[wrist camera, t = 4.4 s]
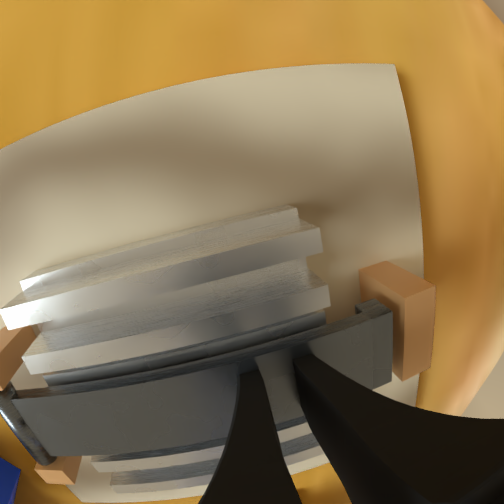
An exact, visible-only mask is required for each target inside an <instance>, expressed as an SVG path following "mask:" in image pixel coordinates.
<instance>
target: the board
mask: <svg viewBox="0 0 504 504" xmlns="http://www.w3.org/2000/svg"><path fill="white" fill-rule="evenodd" d="M286 204H287V205H290V206H293V207H296V208H297V211H298V216H299V219H301V220H304V221H306V222H308V223H310V224H313V225H315V226H317V227H319V228H320V233H321V240H322V246H323V252H321V253H318V254H314V255H310V256H307V257H306V262H307V267H308V268H309V269H310V270H311V271H312V272H314V273H315V274H316V275H317V276H318V277H319V278H321V279H322V280H323V281H324V282H325V283H327V284H328V289H329V296H330V304H331V306H329V307H326V308H323V310H324V311H325V316H326V324H329V323H332V322H335V321H338V320H341V319H344V318H347V317H350V316H353V315H355V305H356V304H359V303H361V293H360V282H359V271H358V269H361V268H364V267H367V266H371V265H374V264H377V263H380V262H383V261H388V262H390V263H392V264H394V265H396V266H399V267H401V268H402V269H404V270H406V271H408V272H410V273H412V274H414V275H416V276H418V277H420V278H422V279H424V259H423V237H422V221H421V209H420V199H419V190H418V181H417V173H416V166H415V159H414V153H413V146H412V140H411V135H410V129H409V124H408V119H407V114H406V109H405V105H404V100H403V96H402V92H401V88H400V83H399V80H398V76H397V72H396V68H395V64H323V65H306V66H293V67H283V68H273V69H265V70H257V71H250V72H243V73H236V74H230V75H224V76H218V77H213V78H208V79H203V80H198V81H193V82H188V83H184V84H179V85H175V86H171V87H167V88H163V89H159V90H155V91H151V92H148V93H144V94H140V95H137V96H133V97H130V98H127V99H123V100H120V101H117V102H114V103H111V104H108V105H105V106H102V107H99V108H96V109H93V110H90V111H87V112H85V113H82V114H79V115H77V116H74V117H71V118H69V119H66V120H64V121H61V122H59V123H56V124H54V125H52V126H49V127H47V128H45V129H42V130H40V131H38V132H35V133H33V134H31V135H29V136H27V137H25V138H22V139H20V140H18V141H16V142H14V143H12V144H10V145H8V146H6V147H4V148H2V149H0V309H1V308H3V307H4V306H5V305H6V304H7V303H9V302H10V301H11V300H12V299H13V298H15V297H16V296H17V295H18V294H19V293H21V292H22V291H23V289H22V286H21V283H20V281H21V280H22V279H24V278H25V277H27V276H28V275H29V274H31V273H32V272H34V271H37V270H40V269H44V268H47V267H50V266H53V265H57V264H60V263H63V262H67V261H70V260H74V259H77V258H80V257H84V256H87V255H91V254H94V253H98V252H101V251H105V250H108V249H112V248H115V247H119V246H123V245H126V244H130V243H133V242H137V241H141V240H145V239H148V238H152V237H156V236H159V235H163V234H167V233H171V232H175V231H179V230H182V229H186V228H190V227H194V226H198V225H202V224H206V223H210V222H214V221H218V220H222V219H226V218H230V217H234V216H239V215H243V214H247V213H251V212H255V211H260V210H264V209H268V208H272V207H277V206H281V205H286ZM5 326H6V324H5V322H4V319H3V317H2V315H1V312H0V330H1V329H2V328H3V327H5ZM31 327H32V329H33V331H34V333H35V335H36V338H37V337H38V335H39V334H40V333H41V332H40V330H39V328H38V326H37V324H33V325H31ZM43 375H44V373H40V374H32V375H31V374H30V372H29V370H28V369H27V367H26V365H25V363H24V362H23V363H22V365H21V366H20V367H19V369H18V370H17V371H16V373H15V374H14V376H13V377H12V378H11V380H10V381H11V382H12V384H13V386H14V387H15V389H16V390H25V389H35V388H44V387H49V386H48V384H47V383H46V381H45V379H44V377H43ZM418 381H419V374H417V375H415V376H413V377H411V378H409V379H407V380H405V381H403V382H402V381H401V380H400V379H399V378H398V377H397V376H396V375H395V374H394V373H393V372H392V381H391V382H389V383H387V384H385V385H383V386H380V387H378V388H376V389H373V391H375V392H377V393H379V394H381V395H384V396H386V397H388V398H391V399H393V400H396V401H399V402H401V403H404V404H407V405H410V406H413V407H415V404H416V397H417V389H418ZM91 457H92V456H82V459H81V463H80V466H79V470H78V474H77V478H76V482H75V485H68V484H65V485H66V486H67V487H68V488H69V489H70V490H71V491H72V492H73V493H74V494H75V495H76V496H77V497H78V498H79V499H80V500H81V501H82V502H95V503H120V502H144V501H158V500H169V499H178V498H186V497H193V496H200V495H203V494H204V493H205V491H206V489H207V487H208V485H209V484H207V485H201V486H195V487H188V488H181V489H173V490H164V491H153V492H140V493H121V494H117V493H116V492H115V491H114V489H113V488H112V487H111V486H110V481H111V475H112V472H98V471H97V470H96V469H95V468H94V467H93V465H92V464H91V463H90V461H91ZM328 462H329V460H328V458H327V457H326V455H325V454H322V455H319V456H316V457H313V458H310V459H307V460H304V461H301V462H298V463H295V464H292V465H288V466H287V468H288V470H289V473H290V475H292V474H296V473H299V472H302V471H305V470H308V469H311V468H314V467H317V466H320V465H323V464H326V463H328Z"/></svg>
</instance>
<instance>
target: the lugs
mask: <svg viewBox="0 0 504 504" xmlns="http://www.w3.org/2000/svg"><path fill="white" fill-rule="evenodd" d="M358 271H359V282H360V293H361V303H362V302H365V301H368V300H371V299H374V298H375V299H376V300H378V301H379V302H380V303H382V304H383V305H384V306H386V307H387V308H389V309H390V310H391V311H393V359H392V372H393V373H394V374H395V375H396V376H397V377H398V378H399V379H400V380H401V381H402V382H403V381H405V380H407V379H409V378H411V377H413V376H415V375H417V374H419V373H421V372H423V371H425V370H427V369H429V368H430V366H431V357H432V347H433V336H434V321H435V300H436V285H434V284H432V283H430V282H428V281H426V280H424V279H422V278H420V277H418V276H416V275H414V274H412V273H410V272H408V271H406V270H404V269H402V268H401V267H399V266H396V265H394V264H392V263H390V262H388V261H383V262H380V263H377V264H374V265H371V266H367V267H364V268H361V269H358ZM35 339H36V335H35V333H34V331H33V329H32V327H31V325H29V326H24V327H20V328H15V329H11V330H8V328H7V326H5V327H3V328H2V329H1V330H0V391H2V390H4V388H5V387H6V386H7V384H8V383H9V381H10V380H11V378H12V377H13V376H14V374H15V373H16V371H17V370H18V369H19V367H20V366H21V365H22V363H23V362H24V361H23V359H22V356H23V354H24V353H25V352H26V350H27V349H28V348H29V347H30V345H31V344H32V343H33V342H34V340H35ZM81 459H82V456H58V457H57V459H56V460H55V461H54V462H53V463H51V464H49V465H46V466H42V465H40V464H38V463H36V466H35V468H34V470H35V471H36V472H37V473H38V474H39V475H40V476H41V478H42V479H43V480H44V481H45V482H46V483H50V484H68V485H75V482H76V478H77V474H78V470H79V466H80V463H81Z"/></svg>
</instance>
